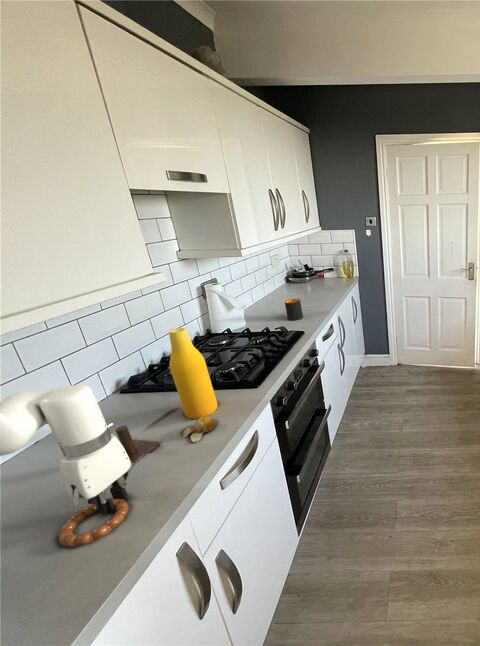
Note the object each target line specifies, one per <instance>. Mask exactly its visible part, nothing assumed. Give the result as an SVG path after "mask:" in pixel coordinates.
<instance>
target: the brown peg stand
mask: <svg viewBox="0 0 480 646" xmlns="http://www.w3.org/2000/svg"><path fill="white" fill-rule="evenodd" d="M114 431H115V433H116V436H117V439H118V440H119V442H120V443H121V444H122V446H123V447H124V449H125V451H126V453H127V455H128V457H129V459H130V461H131V462H132V463H134V464H135V463H136V462H138V461H139V460H141V459H142V458H143V457H144V456H145V455H147V454H153V453H154V452H155V451H156V450H158V449H159V448H160V447H161V444H160V442H159V441H158V442H156V441H148V440H147V441H146V440H134V439H133V438H132V435H131V432H130V430H129V427H128V426H127V425H120V426H118V427H117V428H115V430H114Z"/></svg>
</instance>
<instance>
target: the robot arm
mask: <svg viewBox="0 0 480 646" xmlns="http://www.w3.org/2000/svg"><path fill="white" fill-rule="evenodd" d="M46 425H48V426H49V428H50V430H51V432H52V434H53V436H54V438H55V441H56V443H57V446H58V447H59V449H60V451H61V453H62V455H63V456H62V457H61V458H60V459H59V468H60V469H59V470H60V474H61V477H62V481H63V483H64V487H65V489H66V491H67V494H68V496H69V498H72V499H73V500H72V508H73V509H77V510H81V509H84V508H86V507H88V506H90V505H92V504H97V507H98V509H99V511H98V512H99V513H100V514H102V515H107V514H110V513H111V514H115V513H116V509H115V506H114V504H113V502H112V500H111V499H110V498H108V496H107V493H106V491H105V490H106V489H107V488H108V487H109V486H111V487H110V488H109V492H110V494H111V498H116V499H123V500H125V501H126V503H127V502H128V501H130V499H129V496H128V492H127V489H126V486H127V480H128V477H129V473H130V472H131V471H132V469H133V468H134V467H135V463H132V462H131V461H130V459H129V457H128V455H127V453H126V451H125V449H124V447H123V446H122V444H121V443H120V440H119V438H118V437H116V435H115V434H112V432H111V431H110V430H111V428H113V427H114V424H113V423H112V422H111V421H108V422H106V419H105V417H104V415H103V412H102V410H101V407H100V405H99V403H98V399H97V397H96V396H95V393H94V391H93V389H92V388H91V387H90V386H88V385H87V384H72V385H67V386H63V387H60V388H57V389H46V390H45V389H43V390H31V391H22V392H21V391H20V392H16V393H14V394H10V395H8V396H6V397H5V398H3V399H2V400H1V401H0V457H2V456H8V455H10V454H12V453H13V454H14V453H15V452H17V451H19V450H20V449H22V448H23V447H25V445H27V444H28V443H29V442H30V441H31V439H32V438H33V437H34V436H35V435H36V433H37V432H38V431H39V430H40V429H41V428H43V427H44V426H46Z"/></svg>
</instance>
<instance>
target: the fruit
mask: <svg viewBox="0 0 480 646" xmlns="http://www.w3.org/2000/svg"><path fill="white" fill-rule="evenodd" d="M216 428H217V422H216V420H215V419H214V418H213V417H211V416H206V417H202V418H199V419H196V421H195V422H194V424H193V426H192V427H190V426H189V427H187V428H185V430H183V433H182V438H186V437H188V435H189V434H191V433H192V434H191V435H190V441H189V442H190V443H196V442H199V441H201V440H202V439H203V434H204V433H210V432H212V431H214V430H216Z"/></svg>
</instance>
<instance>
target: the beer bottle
mask: <svg viewBox="0 0 480 646" xmlns="http://www.w3.org/2000/svg"><path fill="white" fill-rule="evenodd" d="M168 336H169V342H170V347H171V354H170V358H169V370H170V373H171V376H172V379H173V382H174V386H175V388H176V391H177V394H178V397H179V400H180V404H181V406H182V410H183V413H184V416H185V417H186V418H187V419H189V420H198V419H199V418H202V417H209V416H210V415H212V414H213V413H215V412H216V410H217V409H218V401H217V398H216V395H215V391H214V387H213V384H212V380H211V377H210V374H209V371H208V367H207V363H206V360H205V358H204V356H203V354H202V352H200V351H199V350H198V349H197V348H196V347H195V346H194V344H193V342H192V340H191V338H190V335H189V333H188V331H187V329H186V328H185V327H177V328H173V329H171V330H169V331H168Z"/></svg>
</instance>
